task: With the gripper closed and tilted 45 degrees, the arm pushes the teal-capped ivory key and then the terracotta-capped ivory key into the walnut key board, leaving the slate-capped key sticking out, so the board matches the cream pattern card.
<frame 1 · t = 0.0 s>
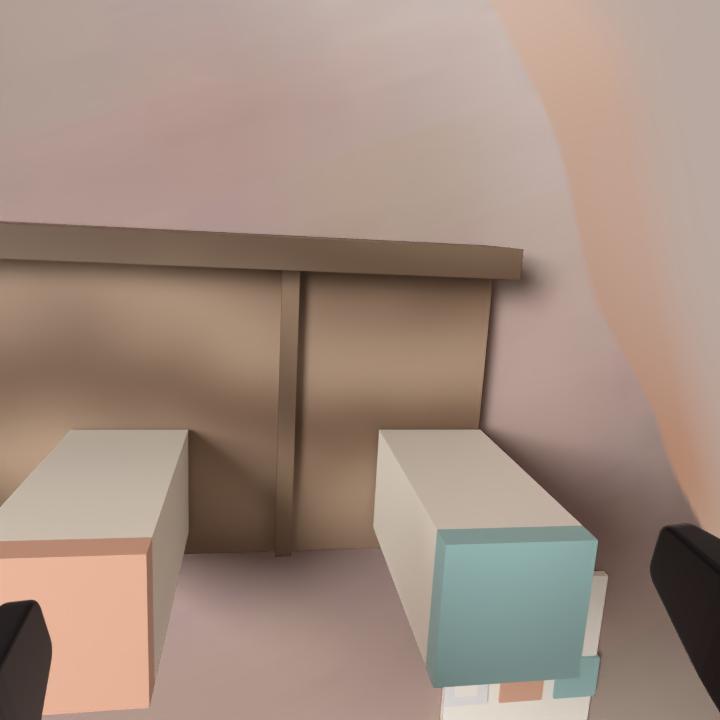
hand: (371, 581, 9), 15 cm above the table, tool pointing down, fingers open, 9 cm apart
teal key: (461, 532, 20), point 6 cm above the table, slide at 0.0 cm
walnut key board: (135, 393, 23), on the table
pattern card: (517, 673, 29), on the table
terracotta key: (102, 542, 19), point 6 cm above the table, slide at 0.0 cm
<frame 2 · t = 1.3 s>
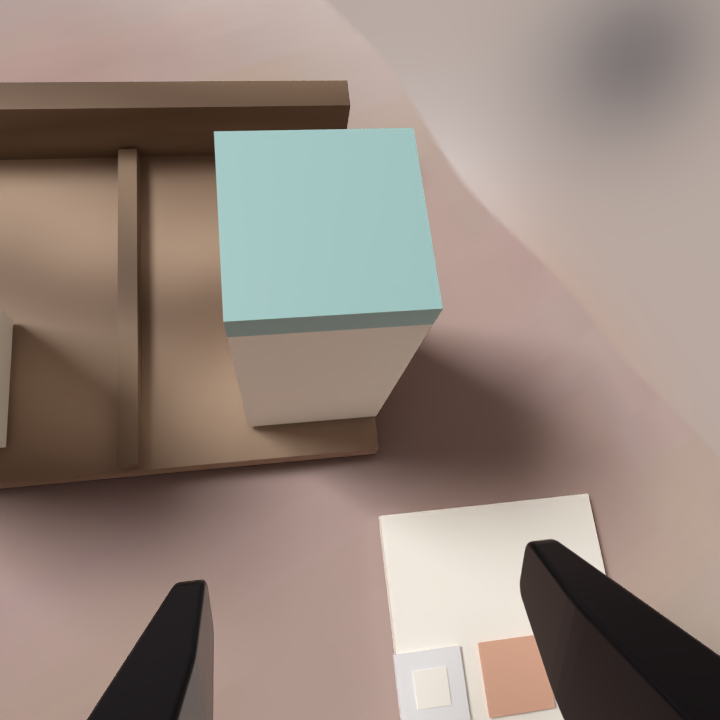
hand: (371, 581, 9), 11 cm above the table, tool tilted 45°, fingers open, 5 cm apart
teal key: (314, 307, 16), point 6 cm above the table, slide at 0.0 cm
pattern card: (510, 672, 19), on the table
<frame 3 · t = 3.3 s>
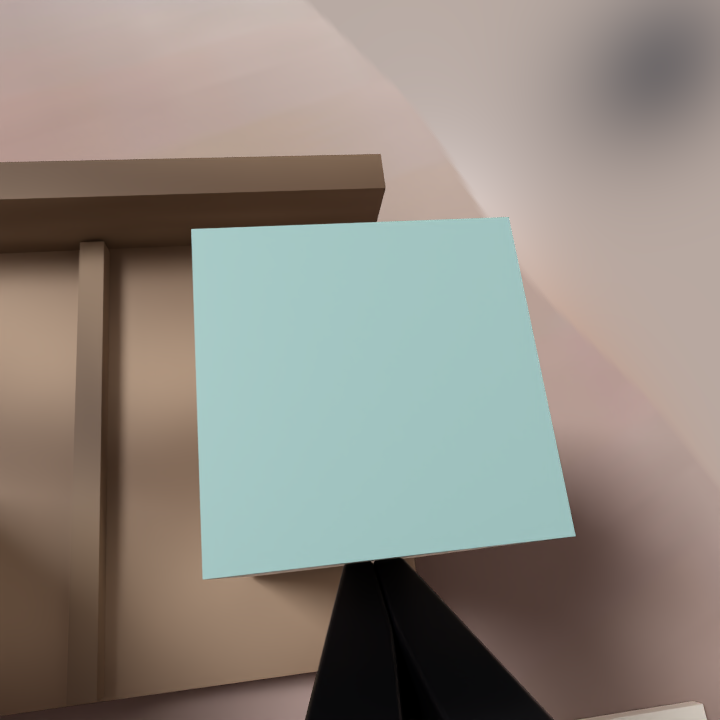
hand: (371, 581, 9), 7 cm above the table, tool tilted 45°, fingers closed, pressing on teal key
teal key: (341, 448, 11), point 6 cm above the table, slide at 1.2 cm, touching gripper
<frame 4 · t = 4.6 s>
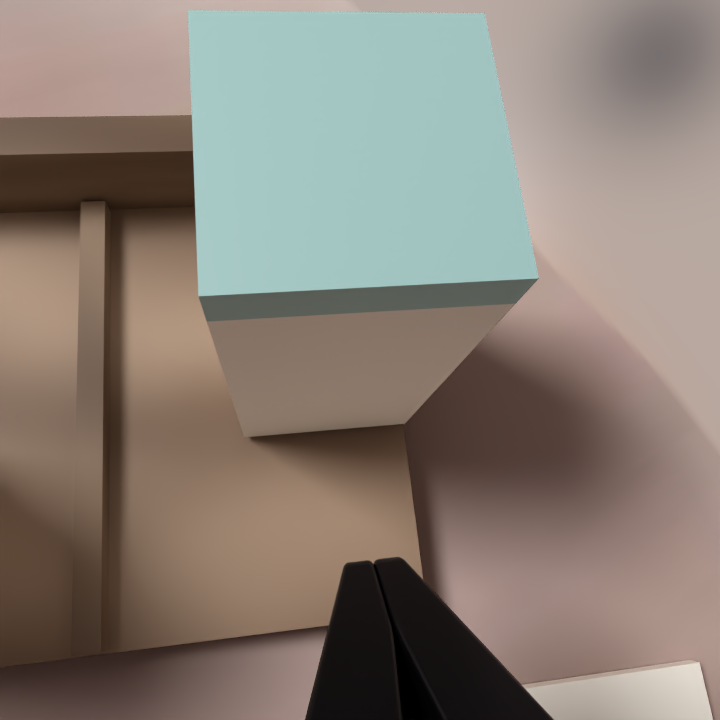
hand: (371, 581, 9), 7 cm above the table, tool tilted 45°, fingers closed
teal key: (331, 283, 12), point 6 cm above the table, slide at 3.5 cm
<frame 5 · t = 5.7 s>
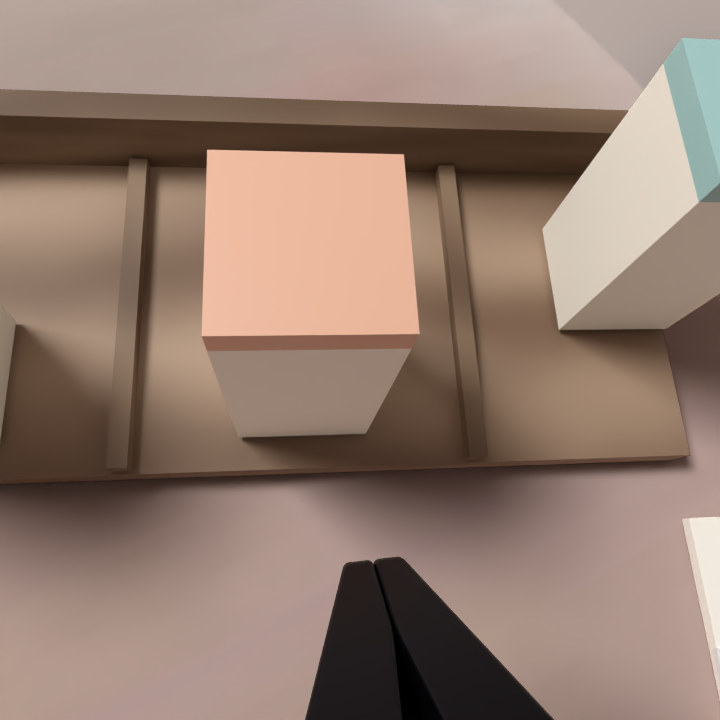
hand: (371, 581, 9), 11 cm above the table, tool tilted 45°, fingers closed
teal key: (672, 212, 19), point 6 cm above the table, slide at 3.5 cm
walnut key board: (298, 305, 23), on the table
terracotta key: (304, 324, 16), point 6 cm above the table, slide at 0.0 cm
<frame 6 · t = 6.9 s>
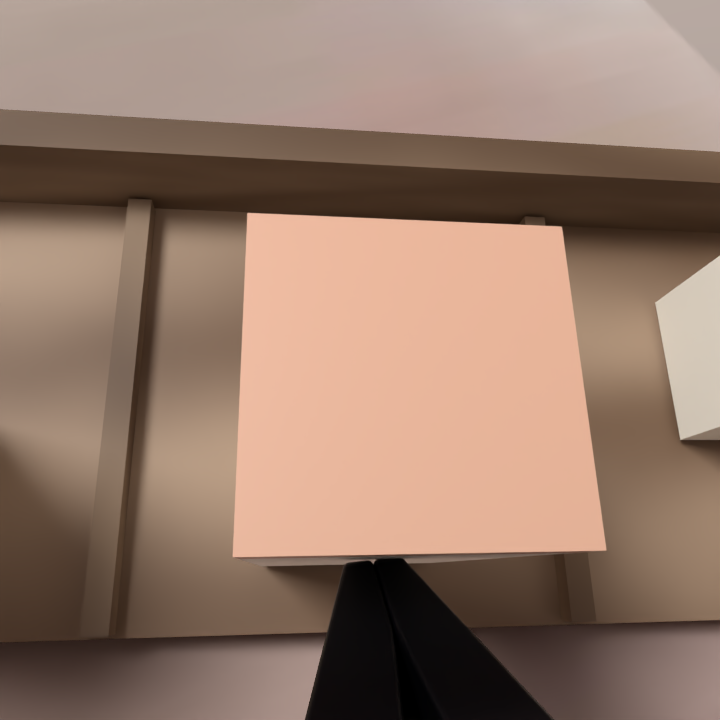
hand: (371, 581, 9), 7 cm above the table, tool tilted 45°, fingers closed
walnut key board: (341, 393, 17), on the table
terracotta key: (368, 445, 11), point 6 cm above the table, slide at 0.5 cm, touching gripper
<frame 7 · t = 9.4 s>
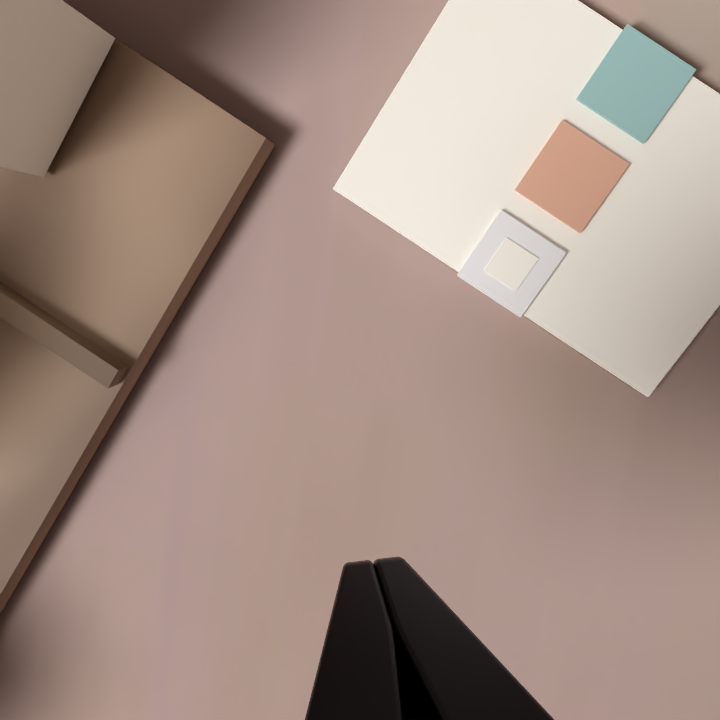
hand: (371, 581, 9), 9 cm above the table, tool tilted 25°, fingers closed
pattern card: (566, 179, 16), on the table
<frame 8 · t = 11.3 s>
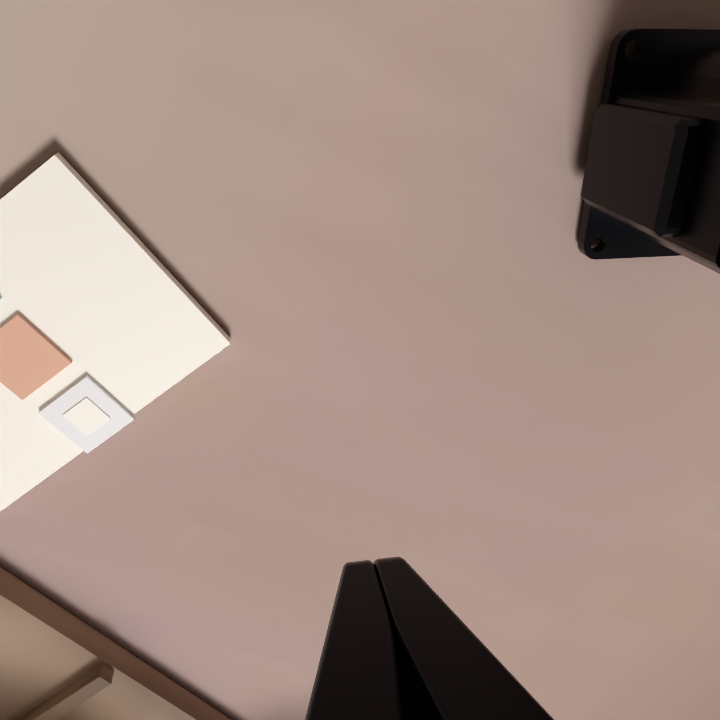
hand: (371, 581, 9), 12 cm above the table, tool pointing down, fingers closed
pattern card: (25, 350, 19), on the table
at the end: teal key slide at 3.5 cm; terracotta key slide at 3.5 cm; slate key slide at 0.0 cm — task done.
